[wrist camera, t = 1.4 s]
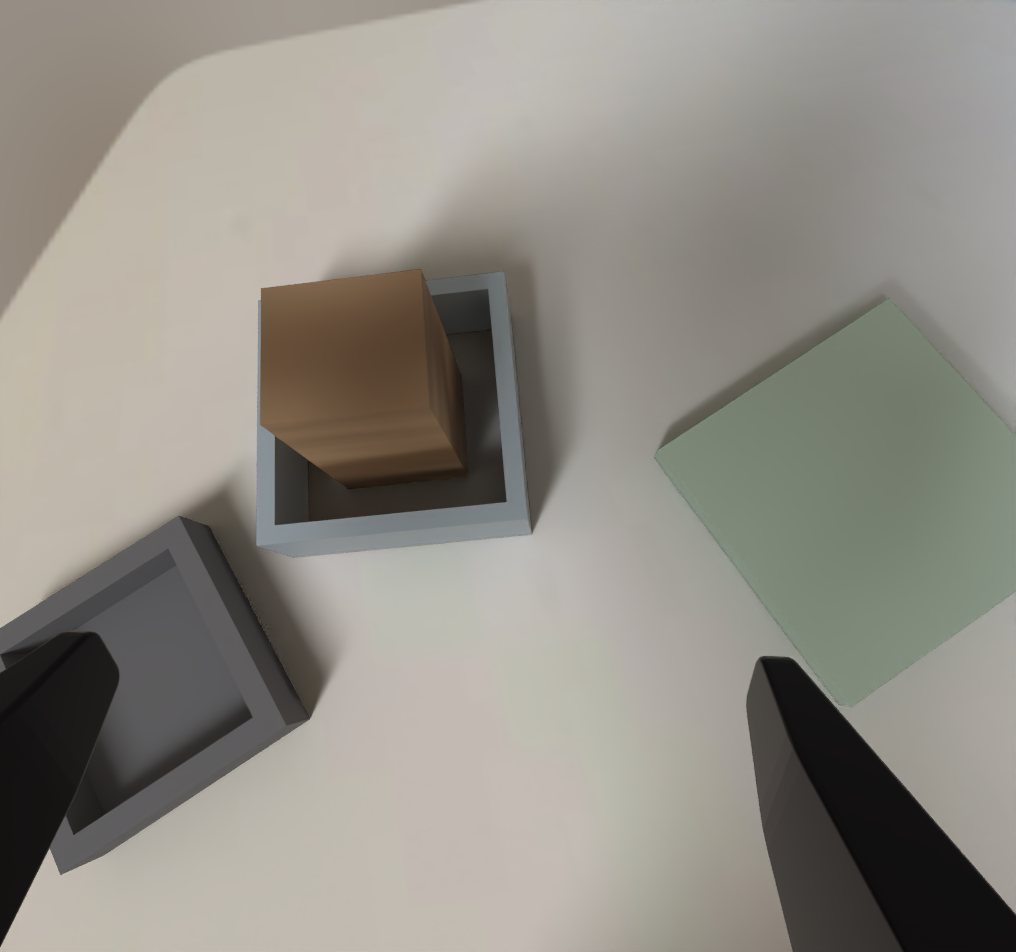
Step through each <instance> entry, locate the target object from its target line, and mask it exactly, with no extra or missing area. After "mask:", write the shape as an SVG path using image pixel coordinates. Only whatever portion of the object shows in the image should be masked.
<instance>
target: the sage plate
mask: <svg viewBox="0 0 1016 952" xmlns="http://www.w3.org/2000/svg"><path fill="white" fill-rule="evenodd" d="M654 458H655V459H656V461H657V462H658V463H659V465H660V466H661V467H662V469H663V470H664V471H665V473H666V474H667V475H668V477H669V478H670V479H671V481H672V482H673V483H674V485H675V486H676V487H677V489H678V490H679V491H680V493H681V494H682V495H683V497H684V498H685V499H686V501H687V502H688V503H689V505H690V506H691V507H692V509H693V510H694V512H695V513H696V514H697V516H698V517H699V518H700V520H701V521H702V522H703V524H704V525H705V526H706V528H707V529H708V530H709V532H710V533H711V534H712V536H713V537H714V538H715V540H716V541H717V542H718V544H719V545H720V546H721V548H722V549H723V550H724V552H725V553H726V554H727V556H728V557H729V558H730V560H731V561H732V562H733V564H734V565H735V566H736V568H737V569H738V570H739V572H740V573H741V575H742V576H743V577H744V579H745V580H746V581H747V583H748V584H749V585H750V587H751V588H752V589H753V591H754V592H755V593H756V595H757V596H758V597H759V599H760V600H761V601H762V603H763V604H764V605H765V607H766V608H767V609H768V611H769V612H770V613H771V615H772V616H773V617H774V619H775V620H776V621H777V623H778V624H779V625H780V627H781V628H782V629H783V631H784V632H785V633H786V635H787V636H788V637H789V639H790V640H791V642H792V643H793V644H794V646H795V647H796V648H797V650H798V651H799V652H800V654H801V655H802V656H803V658H804V659H805V660H806V662H807V663H808V664H809V666H810V667H811V668H812V670H813V671H814V672H815V674H816V675H817V676H818V678H819V679H820V680H821V682H822V683H823V684H824V686H825V687H826V688H827V690H828V691H829V692H830V694H831V695H832V696H833V698H834V699H835V700H836V702H837V703H838V705H843V706H848V707H852V706H854V705H855V704H856V703H858V702H859V701H861V700H862V699H864V698H865V697H866V696H868V695H869V694H871V693H872V692H874V691H875V690H876V689H878V688H879V687H881V686H882V685H883V684H885V683H886V682H888V681H889V680H891V679H892V678H893V677H895V676H896V675H898V674H899V673H900V672H902V671H903V670H905V669H906V668H908V667H909V666H910V665H912V664H913V663H915V662H916V661H917V660H919V659H920V658H922V657H923V656H925V655H926V654H927V653H929V652H930V651H932V650H933V649H935V648H936V647H937V646H939V645H940V644H942V643H943V642H944V641H946V640H947V639H949V638H950V637H952V636H953V635H954V634H956V633H957V632H959V631H960V630H961V629H963V628H964V627H966V626H967V625H969V624H970V623H971V622H973V621H974V620H976V619H977V618H979V617H980V616H981V615H983V614H984V613H986V612H987V611H988V610H990V609H991V608H993V607H994V606H996V605H997V604H998V603H1000V602H1001V601H1003V600H1004V599H1005V598H1007V597H1008V596H1010V595H1011V594H1013V593H1014V592H1015V591H1016V435H1015V433H1014V432H1013V431H1012V430H1011V429H1010V428H1009V427H1008V426H1007V425H1006V424H1005V423H1004V422H1003V420H1002V419H1001V418H1000V417H999V416H998V415H997V414H996V413H995V412H994V411H993V410H992V409H991V407H990V406H989V405H988V404H987V403H986V402H985V401H984V400H983V399H982V398H981V397H980V395H979V394H978V393H977V392H976V391H975V390H974V389H973V388H972V387H971V386H970V385H969V384H968V382H967V381H966V380H965V379H964V378H963V377H962V376H961V375H960V374H959V373H958V372H957V371H956V369H955V368H954V367H953V366H952V365H951V364H950V363H949V362H948V361H947V360H946V359H945V358H944V356H943V355H942V354H941V353H940V352H939V351H938V350H937V349H936V348H935V347H934V346H933V345H932V343H931V342H930V341H929V340H928V339H927V338H926V337H925V336H924V335H923V334H922V333H921V332H920V330H919V329H918V328H917V327H916V326H915V325H914V324H913V323H912V322H911V321H910V320H909V319H908V317H907V316H906V315H905V314H904V313H903V312H902V311H901V310H900V309H899V308H898V307H897V305H896V304H895V303H894V302H893V301H892V300H891V299H890V298H889V299H887V300H885V301H884V302H882V303H881V304H879V305H878V306H876V307H875V308H873V309H872V310H870V311H869V312H867V313H866V314H864V315H863V316H861V317H860V318H858V319H857V320H855V321H854V322H852V323H850V324H849V325H847V326H846V327H844V328H843V329H841V330H840V331H838V332H837V333H835V334H834V335H832V336H831V337H829V338H828V339H826V340H825V341H823V342H822V343H820V344H819V345H817V346H815V347H814V348H812V349H811V350H809V351H808V352H806V353H805V354H803V355H802V356H800V357H799V358H797V359H796V360H794V361H793V362H791V363H790V364H788V365H787V366H785V367H783V368H782V369H780V370H779V371H777V372H776V373H774V374H773V375H771V376H770V377H768V378H767V379H765V380H764V381H762V382H761V383H759V384H758V385H756V386H755V387H753V388H752V389H750V390H748V391H747V392H745V393H744V394H742V395H741V396H739V397H738V398H736V399H735V400H733V401H732V402H730V403H729V404H727V405H726V406H724V407H723V408H721V409H720V410H718V411H716V412H715V413H713V414H712V415H710V416H709V417H707V418H706V419H704V420H703V421H701V422H700V423H698V424H697V425H695V426H694V427H692V428H691V429H689V430H688V431H686V432H685V433H683V434H681V435H680V436H678V437H677V438H675V439H674V440H672V441H671V442H669V443H668V444H666V445H665V446H663V447H662V448H660V449H659V450H658V451H657V453H656V455H655V457H654Z"/></svg>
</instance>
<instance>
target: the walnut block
mask: <svg viewBox="0 0 1016 952" xmlns="http://www.w3.org/2000/svg"><path fill="white" fill-rule="evenodd" d="M260 425H261V426H262V427H264V428H265V429H266V430H268V431H269V432H271V433H272V434H273V435H275V436H276V437H277V438H279V439H280V440H282V441H283V442H284V443H286V444H287V445H288V446H290V447H291V448H292V449H294V450H295V451H297V452H298V453H299V454H301V455H302V456H303V457H305V458H306V459H308V460H309V461H310V462H312V463H313V464H314V465H316V466H317V467H319V468H320V469H321V470H323V471H324V472H325V473H327V474H328V475H330V476H331V477H332V478H334V479H335V480H336V481H338V482H339V483H340V484H342V485H343V486H345V487H346V488H347V489H355V488H365V487H374V486H384V485H394V484H404V483H413V482H423V481H433V480H443V479H452V478H462V477H469V473H468V459H467V446H466V432H465V418H464V404H463V391H462V377H461V373H460V370H459V368H458V365H457V363H456V360H455V357H454V355H453V352H452V349H451V347H450V344H449V341H448V339H447V336H446V334H445V331H444V328H443V326H442V323H441V320H440V318H439V315H438V312H437V310H436V307H435V305H434V302H433V299H432V297H431V294H430V291H429V289H428V286H427V283H426V281H425V278H424V276H423V273H422V270H421V269H418V270H409V271H401V272H393V273H385V274H376V275H368V276H360V277H351V278H343V279H335V280H327V281H318V282H310V283H302V284H294V285H285V286H277V287H269V288H261V361H260Z"/></svg>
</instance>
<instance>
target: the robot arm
mask: <svg viewBox="0 0 1016 952" xmlns="http://www.w3.org/2000/svg"><path fill="white" fill-rule="evenodd" d="M119 679H120V672H119V667H118V665H117V663H116V662H115V660H114V658H113V657H112V655H111V653H110V651H109V650H108V648H107V646H106V645H105V643H104V641H103V640H102V638H101V637H100V635H99V634H97V633H96V632H93V631H77V630H70V631H65V632H62V633H60V634H58V635H57V636H55V637H54V638H52V639H51V640H49V641H48V642H46V643H44V644H43V645H41V646H40V647H38V648H37V649H35V650H34V651H32V652H31V653H29V654H28V655H26V656H25V657H23V658H22V659H20V660H19V661H17V662H16V663H14V664H13V665H11V666H10V667H8V668H7V669H5V670H4V671H2V672H1V673H0V947H1V945H2V943H3V941H4V939H5V937H6V935H7V933H8V931H9V929H10V927H11V925H12V923H13V921H14V919H15V917H16V915H17V913H18V911H19V909H20V907H21V905H22V903H23V900H24V898H25V896H26V894H27V892H28V890H29V888H30V886H31V884H32V882H33V880H34V878H35V876H36V874H37V872H38V870H39V868H40V866H41V864H42V862H43V860H44V858H45V856H46V854H47V852H48V850H49V848H50V846H51V844H52V842H53V840H54V838H55V836H56V834H57V832H58V830H59V828H60V826H61V824H62V822H63V820H64V818H65V816H66V814H67V812H68V810H69V808H70V806H71V803H72V801H73V799H74V797H75V795H76V793H77V791H78V788H79V786H80V783H81V781H82V779H83V776H84V774H85V771H86V769H87V766H88V763H89V761H90V758H91V756H92V753H93V750H94V748H95V745H96V742H97V740H98V737H99V735H100V732H101V729H102V727H103V724H104V721H105V719H106V716H107V714H108V711H109V708H110V706H111V703H112V700H113V698H114V695H115V693H116V690H117V687H118V684H119ZM746 706H747V717H748V725H749V732H750V740H751V747H752V754H753V762H754V769H755V777H756V784H757V792H758V799H759V806H760V813H761V820H762V826H763V832H764V836H765V841H766V845H767V850H768V854H769V858H770V862H771V866H772V870H773V874H774V878H775V882H776V886H777V890H778V894H779V898H780V902H781V906H782V910H783V914H784V918H785V922H786V926H787V930H788V934H789V938H790V942H791V946H792V950H793V952H1016V914H1015V913H1014V912H1013V911H1012V909H1011V908H1010V907H1009V906H1008V905H1007V904H1006V903H1005V901H1004V900H1003V899H1002V898H1001V897H1000V896H999V894H998V893H997V892H996V891H995V890H994V889H993V888H992V886H991V885H990V884H989V883H988V882H987V881H986V880H985V878H984V877H983V876H982V875H981V874H980V873H979V871H978V870H977V869H976V868H975V867H974V866H973V865H972V863H971V862H970V861H969V860H968V859H967V858H966V857H965V855H964V854H963V853H962V852H961V851H960V850H959V848H958V847H957V846H956V845H955V844H954V843H953V842H952V840H951V839H950V838H949V837H948V836H947V835H946V834H945V832H944V831H943V830H942V829H941V828H940V827H939V825H938V824H937V823H936V822H935V821H934V820H933V819H932V817H931V816H930V815H929V814H928V813H927V812H926V810H925V809H924V808H923V807H922V806H921V805H920V804H919V802H918V801H917V800H916V799H915V798H914V797H913V796H912V794H911V793H910V792H909V791H908V790H907V789H906V787H905V786H904V785H903V784H902V783H901V782H900V781H899V779H898V778H897V777H896V776H895V775H894V774H893V773H892V771H891V770H890V769H889V768H888V767H887V766H886V764H885V763H884V762H883V761H882V760H881V759H880V758H879V756H878V755H877V754H876V753H875V752H874V751H873V750H872V748H871V747H870V746H869V745H868V744H867V743H866V741H865V740H864V739H863V738H862V737H861V736H860V735H859V733H858V732H857V731H856V730H855V729H854V728H853V727H852V725H851V724H850V723H849V722H848V721H847V720H846V718H845V717H844V716H843V715H842V714H841V713H840V712H839V710H838V709H837V708H836V707H835V706H834V705H833V704H832V702H831V701H830V700H829V699H828V698H827V697H826V695H825V694H824V693H823V692H822V691H821V690H820V689H819V687H818V686H817V685H816V684H815V683H814V682H813V681H812V679H811V678H810V677H809V676H808V675H807V674H806V672H805V671H804V670H803V669H802V668H801V667H800V666H799V664H798V663H797V662H796V661H794V660H793V659H791V658H789V657H776V656H762V657H760V658H759V659H758V660H757V662H756V664H755V668H754V672H753V675H752V679H751V683H750V686H749V690H748V694H747V704H746Z"/></svg>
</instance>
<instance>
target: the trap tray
mask: <svg viewBox="0 0 1016 952" xmlns="http://www.w3.org/2000/svg"><path fill="white" fill-rule="evenodd" d="M70 630H77V631H93V632H96V633H97V634H99V635H100V637H101V638H102V640H103V641H104V643H105V645H106V646H107V648H108V650H109V651H110V653H111V655H112V657H113V658H114V660H115V662H116V663H117V665H118V667H119V672H120V679H119V684H118V687H117V690H116V693H115V695H114V698H113V700H112V703H111V706H110V708H109V711H108V714H107V716H106V719H105V721H104V724H103V727H102V729H101V732H100V735H99V737H98V740H97V742H96V745H95V748H94V750H93V753H92V756H91V758H90V761H89V763H88V766H87V769H86V771H85V774H84V776H83V779H82V781H81V783H80V786H79V788H78V791H77V793H76V795H75V797H74V799H73V801H72V803H71V806H70V808H69V810H68V812H67V814H66V816H65V818H64V820H63V822H62V824H61V826H60V828H59V830H58V832H57V834H56V836H55V838H54V840H53V842H52V844H51V846H50V850H51V852H52V855H53V857H54V860H55V862H56V865H57V867H58V870H59V872H60V875H62V874H64V873H66V872H68V871H70V870H73V869H75V868H77V867H79V866H81V865H84V864H86V863H88V862H90V861H92V860H95V859H97V858H99V857H101V856H103V855H105V854H107V853H108V852H110V851H111V850H113V849H114V848H116V847H117V846H119V845H120V844H122V843H123V842H125V841H126V840H128V839H129V838H131V837H132V836H134V835H135V834H137V833H138V832H140V831H141V830H143V829H144V828H146V827H147V826H149V825H150V824H152V823H153V822H155V821H156V820H158V819H160V818H161V817H163V816H164V815H166V814H167V813H169V812H170V811H172V810H173V809H175V808H176V807H178V806H179V805H181V804H182V803H184V802H185V801H187V800H188V799H190V798H191V797H193V796H194V795H196V794H197V793H199V792H200V791H202V790H203V789H205V788H206V787H208V786H209V785H211V784H212V783H214V782H215V781H217V780H218V779H220V778H221V777H223V776H225V775H226V774H228V773H229V772H231V771H232V770H234V769H235V768H237V767H238V766H240V765H241V764H243V763H244V762H246V761H247V760H249V759H250V758H252V757H253V756H255V755H256V754H258V753H259V752H261V751H262V750H264V749H265V748H267V747H268V746H270V745H271V744H273V743H274V742H276V741H277V740H279V739H280V738H282V737H283V736H285V735H286V734H288V733H290V732H291V731H293V730H294V729H296V728H297V727H299V726H300V725H302V724H303V723H305V722H306V721H308V720H309V719H310V718H309V717H308V715H307V713H306V711H305V709H304V707H303V705H302V703H301V701H300V699H299V697H298V696H297V694H296V692H295V690H294V688H293V686H292V684H291V682H290V680H289V678H288V676H287V675H286V673H285V671H284V669H283V667H282V665H281V663H280V661H279V659H278V657H277V656H276V654H275V652H274V650H273V648H272V646H271V644H270V642H269V640H268V638H267V636H266V635H265V633H264V631H263V629H262V627H261V625H260V623H259V621H258V619H257V617H256V615H255V614H254V612H253V610H252V608H251V606H250V604H249V602H248V600H247V598H246V596H245V595H244V593H243V591H242V589H241V587H240V585H239V583H238V581H237V579H236V577H235V575H234V574H233V572H232V570H231V568H230V566H229V564H228V562H227V560H226V558H225V556H224V554H223V553H222V551H221V549H220V547H219V545H218V543H217V541H216V539H215V537H214V535H213V533H212V532H211V530H210V528H209V526H207V525H204V524H201V523H198V522H195V521H192V520H189V519H186V518H183V517H180V516H178V517H177V518H175V519H173V520H172V521H170V522H169V523H167V524H165V525H164V526H162V527H161V528H159V529H157V530H156V531H154V532H153V533H151V534H149V535H148V536H146V537H145V538H143V539H141V540H140V541H138V542H137V543H135V544H134V545H132V546H130V547H129V548H127V549H126V550H124V551H122V552H121V553H119V554H118V555H116V556H114V557H113V558H111V559H110V560H108V561H106V562H105V563H103V564H102V565H100V566H99V567H97V568H95V569H94V570H92V571H91V572H89V573H87V574H86V575H84V576H83V577H81V578H79V579H78V580H76V581H75V582H73V583H71V584H70V585H68V586H67V587H65V588H63V589H62V590H60V591H59V592H57V593H56V594H54V595H52V596H51V597H49V598H48V599H46V600H44V601H43V602H41V603H40V604H38V605H36V606H35V607H33V608H32V609H30V610H28V611H27V612H25V613H24V614H22V615H20V616H19V617H17V618H16V619H14V620H13V621H11V622H9V623H8V624H6V625H5V626H3V627H1V628H0V673H1V672H2V671H4V670H5V669H7V668H8V667H10V666H11V665H13V664H14V663H16V662H17V661H19V660H20V659H22V658H23V657H25V656H26V655H28V654H29V653H31V652H32V651H34V650H35V649H37V648H38V647H40V646H41V645H43V644H44V643H46V642H48V641H49V640H51V639H52V638H54V637H55V636H57V635H58V634H60V633H62V632H65V631H70Z"/></svg>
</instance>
